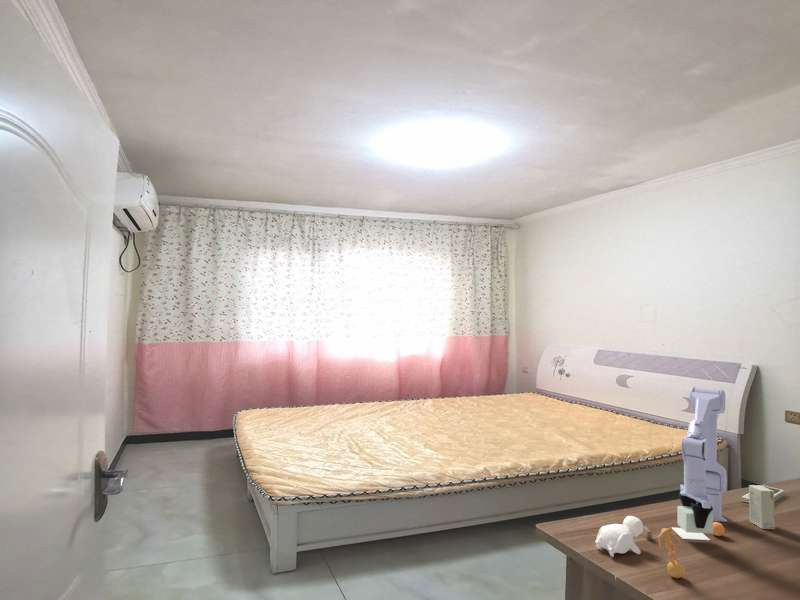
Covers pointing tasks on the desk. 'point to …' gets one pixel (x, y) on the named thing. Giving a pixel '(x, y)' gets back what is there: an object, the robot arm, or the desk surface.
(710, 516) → the pale green block
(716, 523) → the ball
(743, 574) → the desk surface
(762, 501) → the skincare box
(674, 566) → the figurine
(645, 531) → the stopper
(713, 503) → the robot arm
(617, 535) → the white crawling baby figure
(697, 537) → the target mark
